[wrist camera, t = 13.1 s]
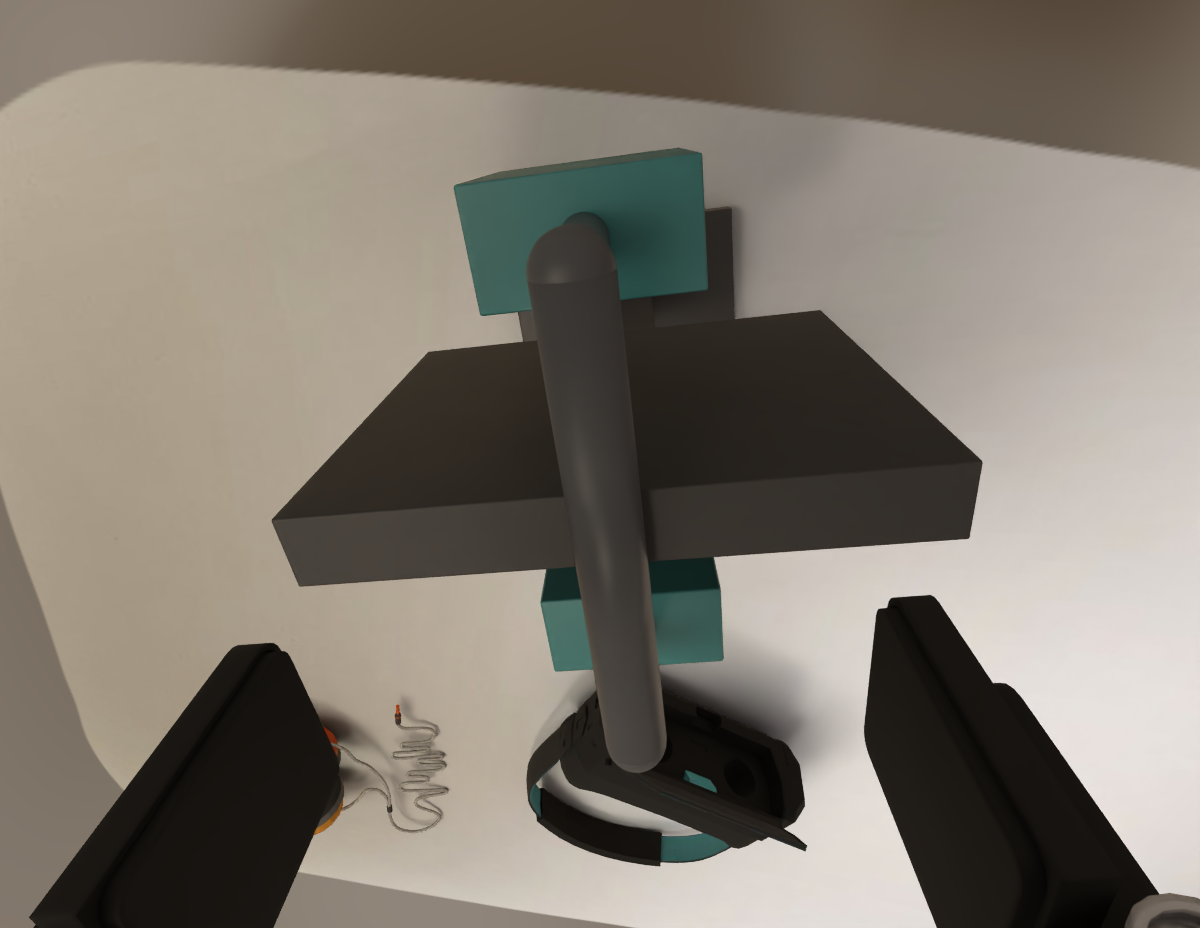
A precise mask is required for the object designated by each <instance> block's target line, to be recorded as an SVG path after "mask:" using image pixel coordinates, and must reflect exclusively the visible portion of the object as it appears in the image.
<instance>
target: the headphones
mask: <svg viewBox="0 0 1200 928" xmlns="http://www.w3.org/2000/svg"><path fill="white" fill-rule="evenodd" d="M395 721H396V725H397V726H398V727H399V728H400V729H403V730H429V731H432V732H433V737H432V738H431V739H428V740H424V741H413V742H402V743H401V744H400V747H401V748H402V749H422V750H411V751H397V752H393V753H392V754H391V758H392V759H395V760H407V759H417V758H421V759H418V760H417V762H416V763H417V764H418V765H421V766H443V767H442V768H438V769H429V770H413V771H409V772H407V774H406V776H407V777H410V778H426V779H427V780H423V781H407V782H403V783H401V784H399V786H398V787H399V789H400V790H401V791H403V792H431V791H444V792H441V793H434V794H428V795H424V796H420V797H418V798H416V799H415V802H414V804H415V806H416V807H417V808H419V809H421V810H425V811H428V812H431V813H434V814H436V815H437V816H438V819H437V821H436V822H435V823H434V824H432V825H431V826H428V827H426V828H423V829H420V830H406V829H402V828H400V827H398V826H397V825H396V824H395V823H394V821H393V819H392V816H391V812H392V804H391V796H390V792H389V788H388V786H387V784H386V782H385V780H384V779H383V777H382V776H381V775H380V774H379V773H378V772H377V771H376V770H375V769H374V768H373V767H372V766H370V765H368V764H367V763H364V762H362V761H360V760H358V759H356V758H355V757H354V756H353V755H352V754H351V753H350V751H348V750H347V749H345V748H344V747H342V746H340V745H338V744H337V740H336V738H335V736H334V734H333V733H332V732H331V731H329V730H328V729H327V728H325V727H324V730H325V732H326V734H327V736H328V738H329V740H330V742H331V744H332V747H333V749H334V751H335V753H336V755H337V757H338V760H339V764H340V760H341V752H340V749H341V750H342V751H344V752H345V753H347V754H348V755H349V756H350V757H351V758H352V759H353V760H354V761H355V762H357V763H359V764H361V765H363V766H366V767H367V768H369V769H370V770H371V771H373V772H374V773H375V774H376V775H377V776H378V777H379V778H380V780H381V781H382V782H383V784H384V786H385V788H386V791H387V795H388V797H387V795H386V794H385V793H384V792H383V791H382V790H380V789H377V788H368V789H365V790H364V791H363V792H362V793H361V794H360V796H359V797H358V798H357V799H356V800H355V801H353V802H352V803H351V804H349V805H347V806H345V807H343V808H342V806H343V796H344V785H343V782H342V780H341V778H340V777H339V776H338V779H337V782H336V785H335V787H334V789H333V792H332V794H331V796H330V799H329V801H328V803H327V805H326V808H325V810H324V812H323V815H322V817H321V819H320V822H319V824H318V826H317V828H316V831H315V833H314V835H315V834H318V833H320V832H322V831H324V830H325V829H327V828H328V827H329V826H330V825H332V824H333V822H334V821H335V820H336V818H337V817H338V816H339V814H340V812H341V811H343V810H345V809H347V808H349V807H351V806H352V805H354V804H355V803H356V802H358V800H359V799H360V798H361V797H362V796H363V795H364V794H365V793H366V792H367V791H377V792H379V793H380V794H382V795H383V796H384V798H385V799H386V801H387V812H388V813H389V819H390V821H391V823H392V825H393V826H394V827H395V828H396V829H397V830H399V831H402V832H407V833H418V832H422V831H426V830H428V829H430V828H432V827H434V826H435V825H436V824H437V823H438V822H439V820H440V814H439V813H438V812H436V811H434V810H431V809H428V808H425V807H422V806H420V805H418V804H417V801H418V800H419V799H423V798H427V797H433V796H439V795H444V794H447V793H448V790H447V789H443V788H437V789H403V788H402V787H401V786H403V785H406V784H419V783H427V782H429V780H430V778H429V776H426V775H409V774H411V773H426V772H436V771H442V770H444V769H445V764H444V763H421V761H431V760H441V759H443V758H444V756H443V755H442V754H428V755H419V756H409V757H395V756H394V755H396V754H409V753H420V752H427V751H429V750H430V747H429V746H415V747H406V746H403V745H411V744H423V743H428V742H431V741H433V740H434V738H435V737H436V732H435V730H434V729H433V728H430V727H403V726H401V725H400V723H401V713H400V712H399V705H396V714H395ZM427 757H435V758H427Z"/></svg>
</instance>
